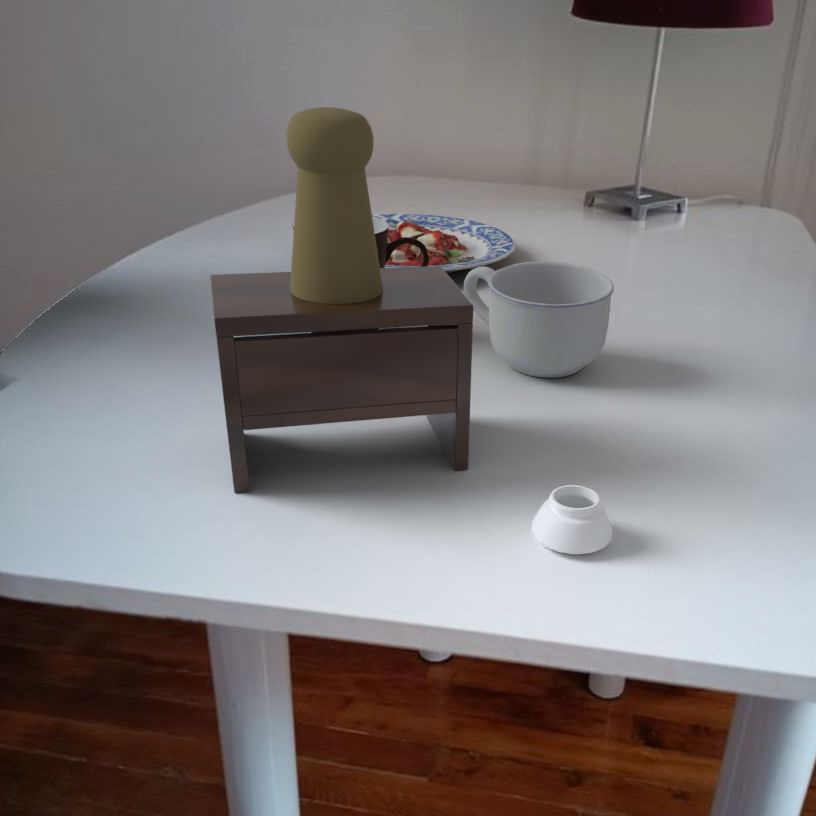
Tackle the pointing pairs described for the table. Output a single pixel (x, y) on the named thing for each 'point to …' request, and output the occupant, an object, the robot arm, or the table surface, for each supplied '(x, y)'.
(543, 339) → the teacup
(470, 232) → the ceramic plate
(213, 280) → the wooden nightstand
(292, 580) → the table surface
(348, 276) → the yellow tapered round-topped cylinder
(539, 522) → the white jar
